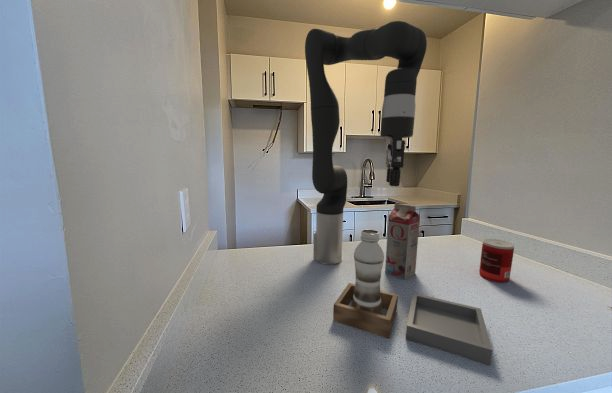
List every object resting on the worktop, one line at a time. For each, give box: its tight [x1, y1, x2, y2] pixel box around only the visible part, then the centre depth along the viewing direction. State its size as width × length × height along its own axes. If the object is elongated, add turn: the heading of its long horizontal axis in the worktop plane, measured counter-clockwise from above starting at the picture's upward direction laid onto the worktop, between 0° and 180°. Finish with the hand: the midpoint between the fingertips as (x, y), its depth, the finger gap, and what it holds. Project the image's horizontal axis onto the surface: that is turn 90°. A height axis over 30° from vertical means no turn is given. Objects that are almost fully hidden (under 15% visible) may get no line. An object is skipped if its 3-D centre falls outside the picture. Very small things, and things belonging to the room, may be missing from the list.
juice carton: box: [384, 202, 421, 281], centre depth 79 cm, size 7×7×22 cm
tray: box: [405, 292, 493, 366], centre depth 54 cm, size 14×14×3 cm
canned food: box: [479, 238, 515, 283], centre depth 78 cm, size 8×8×11 cm
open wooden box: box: [332, 282, 399, 340], centre depth 59 cm, size 12×11×4 cm
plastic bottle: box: [351, 228, 385, 315], centre depth 57 cm, size 6×7×20 cm
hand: (392, 184), depth 64 cm, fingers open, 8 cm apart
